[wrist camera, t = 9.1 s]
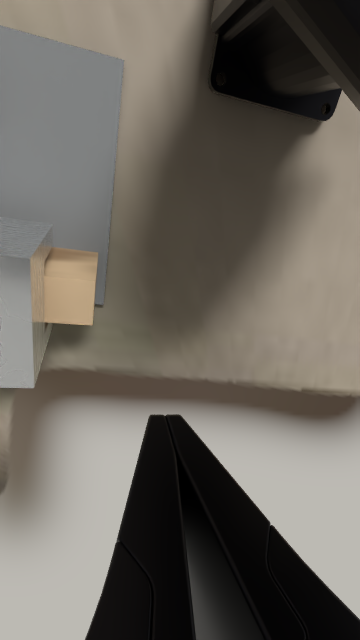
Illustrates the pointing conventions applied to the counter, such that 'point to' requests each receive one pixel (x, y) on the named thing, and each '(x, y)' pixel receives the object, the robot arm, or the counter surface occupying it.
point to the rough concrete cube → (22, 300)
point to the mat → (59, 140)
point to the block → (70, 286)
